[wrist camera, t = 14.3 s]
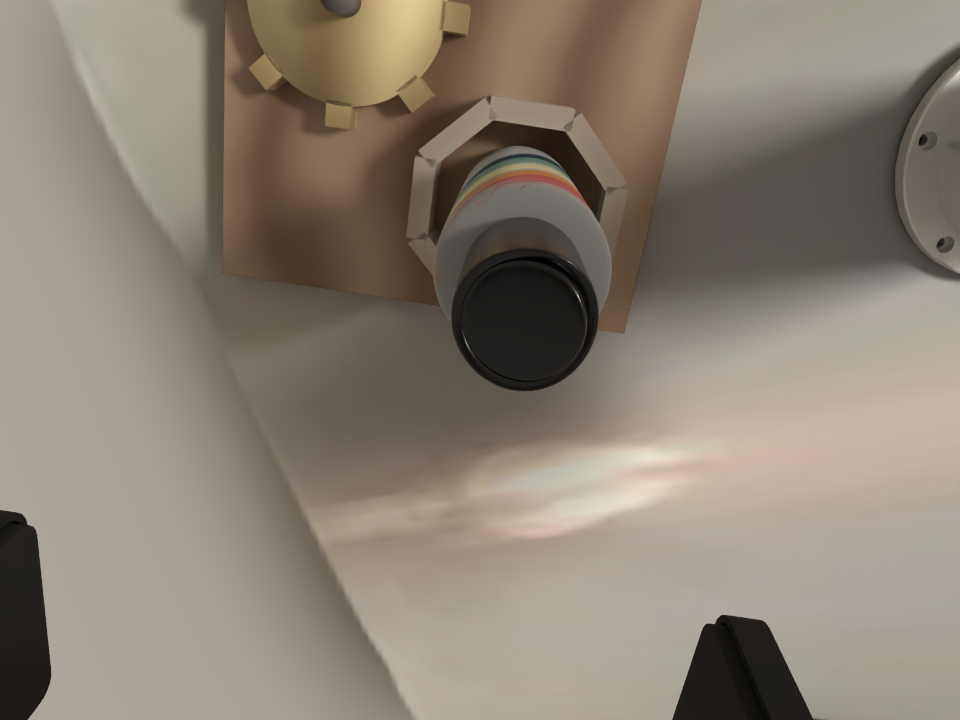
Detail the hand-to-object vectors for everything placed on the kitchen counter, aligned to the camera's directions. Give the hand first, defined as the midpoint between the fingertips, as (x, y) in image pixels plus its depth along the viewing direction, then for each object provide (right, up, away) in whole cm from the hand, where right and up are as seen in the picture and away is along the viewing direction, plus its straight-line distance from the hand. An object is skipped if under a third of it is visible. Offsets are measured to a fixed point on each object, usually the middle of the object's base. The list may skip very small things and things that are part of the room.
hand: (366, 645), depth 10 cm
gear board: (0, +17, +26) cm, 31 cm away
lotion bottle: (+4, +12, +26) cm, 29 cm away
